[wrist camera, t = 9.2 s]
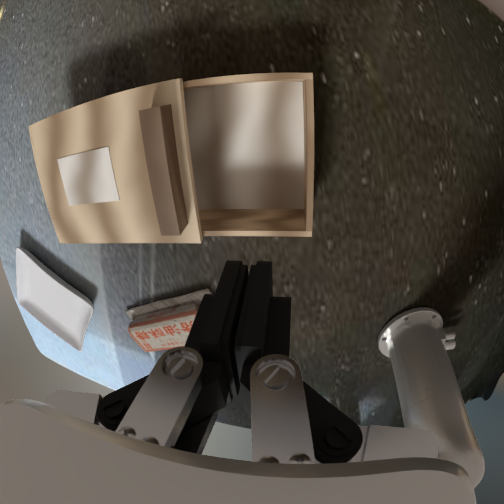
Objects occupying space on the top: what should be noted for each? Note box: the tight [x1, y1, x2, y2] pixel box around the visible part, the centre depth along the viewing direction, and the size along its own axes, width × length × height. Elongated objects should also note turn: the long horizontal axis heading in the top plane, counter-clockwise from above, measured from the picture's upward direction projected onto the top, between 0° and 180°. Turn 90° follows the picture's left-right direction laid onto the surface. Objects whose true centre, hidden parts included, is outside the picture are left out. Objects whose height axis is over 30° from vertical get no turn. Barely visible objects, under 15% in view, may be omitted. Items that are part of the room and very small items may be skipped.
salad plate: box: [16, 247, 94, 351], centre depth 48 cm, size 21×21×3 cm
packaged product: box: [126, 289, 212, 352], centre depth 45 cm, size 18×5×10 cm
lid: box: [28, 78, 203, 243], centre depth 25 cm, size 21×17×3 cm
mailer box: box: [183, 73, 314, 237], centre depth 28 cm, size 20×16×6 cm
